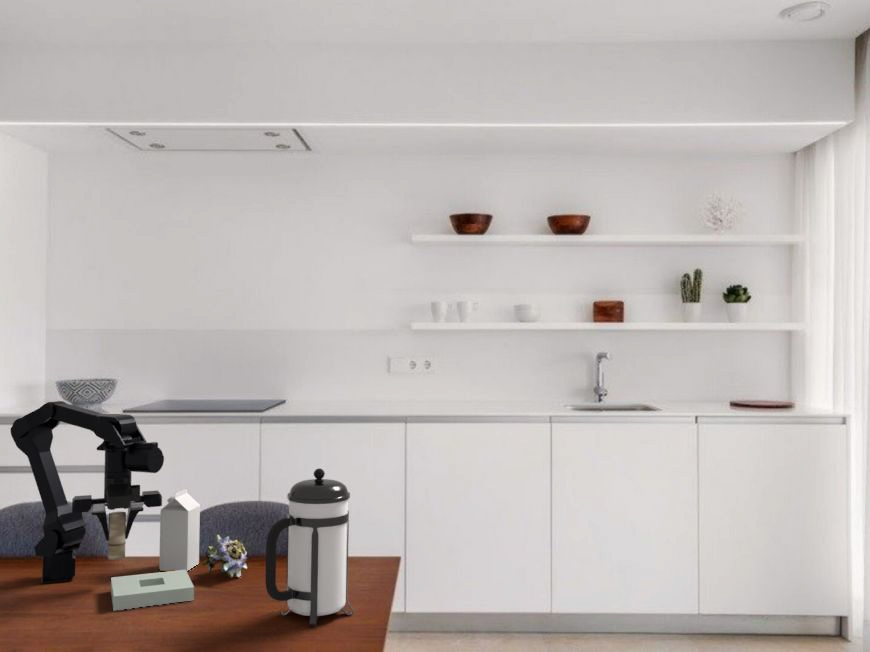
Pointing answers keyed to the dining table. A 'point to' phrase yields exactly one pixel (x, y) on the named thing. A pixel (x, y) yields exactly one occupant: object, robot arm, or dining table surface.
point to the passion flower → (227, 556)
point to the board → (151, 589)
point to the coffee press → (313, 549)
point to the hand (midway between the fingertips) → (116, 539)
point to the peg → (117, 535)
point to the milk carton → (179, 533)
